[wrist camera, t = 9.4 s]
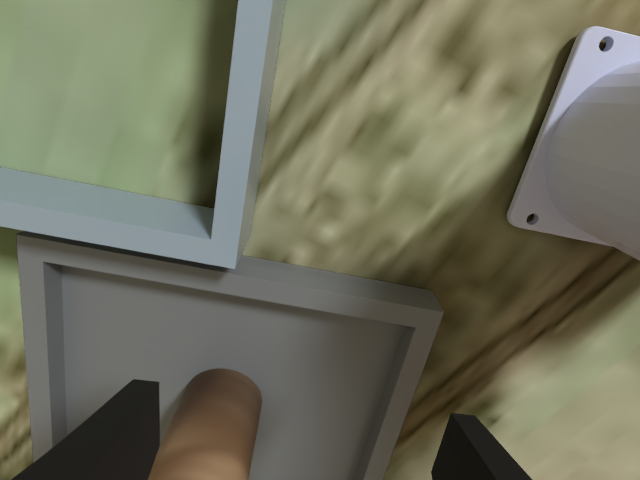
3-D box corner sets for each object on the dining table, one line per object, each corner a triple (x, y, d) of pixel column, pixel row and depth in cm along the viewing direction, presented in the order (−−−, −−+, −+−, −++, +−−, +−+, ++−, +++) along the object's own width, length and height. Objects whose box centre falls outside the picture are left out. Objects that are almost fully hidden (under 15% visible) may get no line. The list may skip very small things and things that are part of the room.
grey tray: (431, 290, 19) (444, 312, 17) (354, 512, 24) (357, 547, 23) (48, 219, 18) (15, 234, 16) (59, 471, 23) (36, 504, 21)
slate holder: (308, -150, 13) (305, -231, 10) (250, 236, 18) (234, 269, 15) (-141, -271, 12) (-315, -407, 9) (-73, 175, 17) (-167, 195, 14)
